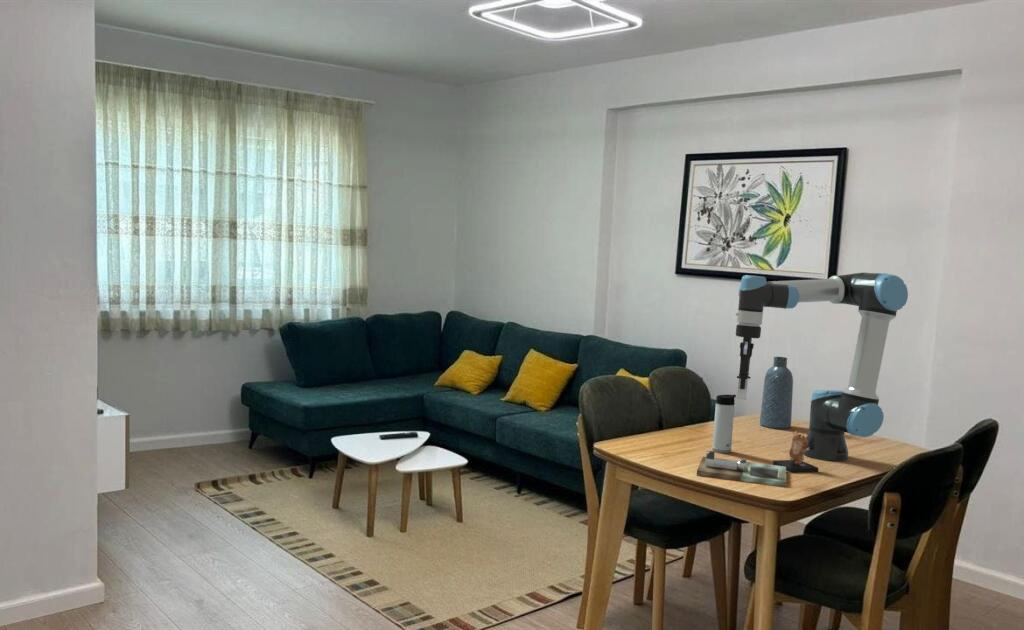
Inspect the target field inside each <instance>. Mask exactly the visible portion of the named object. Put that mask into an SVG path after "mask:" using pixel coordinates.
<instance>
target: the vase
mask: <svg viewBox="0 0 1024 630" xmlns="http://www.w3.org/2000/svg"><path fill="white" fill-rule="evenodd" d="M787 364H788V358H787V357H784V356H774V357H773V364H772V366H771V367H769V368H768V369H767V371H766V373H765V376H764V381H763V382H764V384H763V391H762V399H761V400H762V401H761V407H760V408H761V409H760V416H759V417H760V418H759V424H760V426H762V427H764V426H765V427H764V428H768V427H769V429H773V428H776V429H775V430H788V429H790V428H791V427H792V416H793V415H792V414H793V413H792V412H793V411H792V410H793V394H794V393H793V392H794V391H793V388H794V376H793V373H792V372H791V370H790V369H789V368H788V365H787Z"/></svg>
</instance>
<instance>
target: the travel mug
mask: <svg viewBox="0 0 1024 630" xmlns="http://www.w3.org/2000/svg"><path fill="white" fill-rule="evenodd" d="M735 399H737V394H719V395H716V400H715V401H716V402H715V407H714V409H715V410H714V423H713V424H714V425H713V436H712V439H713V440H712V447H711V448H712V450H711V451H713V452H715V453H718V454H730V453H732V442H733V441H732V439H733V428H734V414H735Z"/></svg>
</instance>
